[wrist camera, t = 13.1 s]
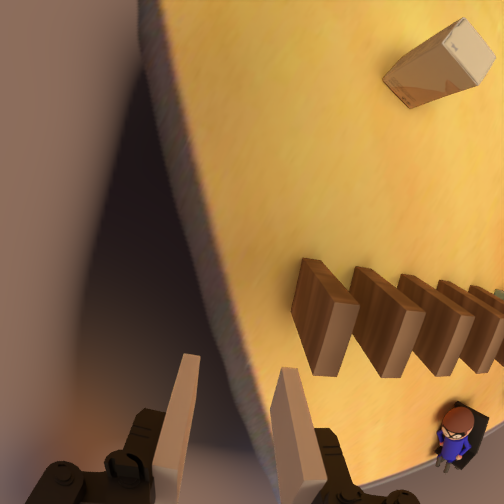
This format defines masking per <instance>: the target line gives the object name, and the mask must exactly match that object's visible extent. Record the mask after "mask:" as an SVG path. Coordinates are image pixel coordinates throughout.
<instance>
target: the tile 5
mask: <svg viewBox="0 0 504 504" xmlns="http://www.w3.org/2000/svg"><path fill="white" fill-rule="evenodd" d="M468 293H470V294H472V295H473V296H475V297H477V298H478V299H480V300H482V301H483V302H485V303H486V304H488V305H490V306H491V307H493V308H494V309H496V310H498V311H499V312H501V313H502V314H504V300H502V299H500V298H499V297H497V296H495V295H493V294H492V293H490V292H488V291H486V290H485V289H483V288H481V287H479V286H473V285H470V288H469V291H468ZM495 360H497V361H498V362H499V363H500V364H501V365H502V366H503V367H504V338H503V340H502V343H501V345H500V347H499V350H498V352H497V354H496V356H495Z"/></svg>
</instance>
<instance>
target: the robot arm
mask: <svg viewBox="0 0 504 504" xmlns="http://www.w3.org/2000/svg"><path fill="white" fill-rule="evenodd" d="M199 364H200V356H196V355H190V354H184V355H183V358H182V361H181V365H180V368H179V371H178V375H177V378H176V382H175V385H174V388H173V392H172V395H171V398H170V402H169V405H168V409H167V412H166V413H165V412H160V411H155V410H151V409H146V408H144V409H143V410H142V411H141V412H140V413H138V414H137V415H136V417H135V420H134V422H133V426H132V427H131V430H130V434H129V435H128V438H127V440H126V443H125V446H124V448H123V450H117V451H114V452H111V453H110V454H109V455H108V456H107V457H106V459H105V461H104V464H105V469H106V471H104V472H84V471H81V470H80V469H79V468H78V467H77V466H76V465H74V464H73V463H70V462H66V461H57V462H55V463H52V464H50V465H49V466H48V467H47V468H46V470H45V472H44V473H43V475H42V477H41V478H40V480H39V481H38V483H37V485H36V486H35V488H34V489H33V491H32V493H31V494H30V496H29V497H28V499H27V501H26V503H25V504H154V503H155V504H178V498H179V492H180V485H181V480H182V474H183V468H184V462H185V457H186V451H187V445H188V439H189V434H190V428H191V422H192V417H193V412H194V406H195V401H196V391H197V382H198V373H199ZM270 414H271V423H272V431H273V440H274V448H275V456H276V465H277V473H278V482H279V490H280V498H281V504H420V502H419V501H418V499H417V497H416V496H415V495H414V494H412V493H411V492H409V491H406V490H396V491H393V492H391V493H390V494H389V495H388V496H387V497H384V496H376V495H369V494H366V493H364V492H363V491H362V490H361V488H360V487H358V486H356V485H354V484H353V482H352V480H351V477H350V474H349V471H348V468H347V465H346V462H345V459H344V456H343V455H342V454H343V453H342V450H341V448H340V444H339V441H338V438H337V436H336V435H335V434H334V433H333V432H332V431H331V429H330V428H314V427H313V423H312V419H311V416H310V412H309V408H308V405H307V401H306V397H305V394H304V390H303V387H302V383H301V379H300V376H299V372H298V368H288V367H281V371H280V375H279V379H278V382H277V386H276V390H275V393H274V397H273V400H272V404H271V407H270Z"/></svg>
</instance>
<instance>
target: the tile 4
mask: <svg viewBox="0 0 504 504" xmlns="http://www.w3.org/2000/svg"><path fill="white" fill-rule="evenodd" d="M436 290H437V291H439V292H440V293H442V294H443V295H445V296H446V297H448V298H449V299H451V300H452V301H454V302H455V303H456V304H458V305H459V306H461V307H462V308H464V309H465V310H467V311H468V312H470V313H471V314H472V315H474V316H475V319H474V322H473V324H472V327H471V329H470V332H469V335H468V337H467V340H466V342H465V344H464V347H463V349H462V351H461V354H460V356H459V357H460V358H461V359H462V360H463V361H464V362H465V363H466V364H467V365H468V366H469V367H470V368H471V369H472V370H473V371H474V372H475V373H476V374H480V373H488V371H489V369H490V367H491V365H492V363H493V361H494V359H495V356H496V354H497V352H498V350H499V347H500V345H501V343H502V340H503V338H504V314H502V313H501V312H499V311H498V310H496V309H494V308H493V307H491V306H490V305H488V304H486V303H485V302H483V301H482V300H480V299H478V298H477V297H475V296H473V295H472V294H470V293H468V292H467V291H465V290H463V289H462V288H460V287H458V286H457V285H455V284H453V283H451V282H449V281H443V280H439V283H438V286H437V289H436Z"/></svg>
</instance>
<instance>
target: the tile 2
mask: <svg viewBox="0 0 504 504" xmlns="http://www.w3.org/2000/svg"><path fill="white" fill-rule="evenodd" d="M349 293H350V294H351V295H352V296H353V297H354V299H355V300H356V301H357V302H358V303H359V304H360V308H359V312H358V315H357V318H356V322H355V325H354V328H353V331H352V334H353V335H354V337H355V338H356V340H357V342H358V343H359V345H360V346H361V348H362V349H363V351H364V352H365V354H366V355H367V357H368V358H369V360H370V362H371V363H372V365H373V366H374V368H375V369H376V371H377V372H378V374H379V376H380V377H381V378H401V375H402V373H403V371H404V368H405V366H406V364H407V361H408V359H409V357H410V354H411V352H412V349H413V347H414V344H415V342H416V339H417V336H418V334H419V331H420V328H421V326H422V323H423V320H424V317H425V314H426V312H425V311H424V310H423V309H422V308H420V307H419V306H418V305H417V304H415V303H414V302H413V301H412V300H410V299H409V298H408V297H407V296H405V295H404V294H403V293H402V292H400V291H399V290H398V289H397V288H395V287H394V286H393V285H392V284H390V283H389V282H388V281H386V280H385V279H384V278H383V277H381V276H380V275H379V274H377V273H376V272H375V271H374V270H372V269H369V268H363V267H357V266H356V267H355V271H354V275H353V278H352V282H351V286H350V290H349Z"/></svg>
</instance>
